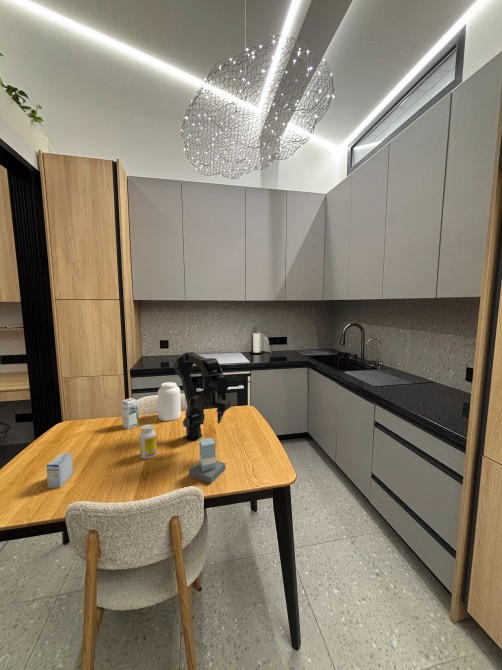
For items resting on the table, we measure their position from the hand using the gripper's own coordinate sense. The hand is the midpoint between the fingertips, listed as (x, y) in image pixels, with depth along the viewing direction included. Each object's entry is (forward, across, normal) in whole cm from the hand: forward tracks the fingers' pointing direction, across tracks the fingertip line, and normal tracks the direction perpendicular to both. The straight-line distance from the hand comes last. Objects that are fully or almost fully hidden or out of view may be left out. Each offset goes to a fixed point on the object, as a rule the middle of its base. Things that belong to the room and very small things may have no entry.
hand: (210, 421), depth 121 cm
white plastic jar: (+13, -42, +20) cm, 48 cm away
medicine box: (+13, -36, -43) cm, 58 cm away
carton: (+10, +9, -15) cm, 20 cm away
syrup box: (+13, -52, +1) cm, 54 cm away
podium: (+13, +9, -15) cm, 22 cm away
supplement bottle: (+13, -21, -16) cm, 30 cm away
